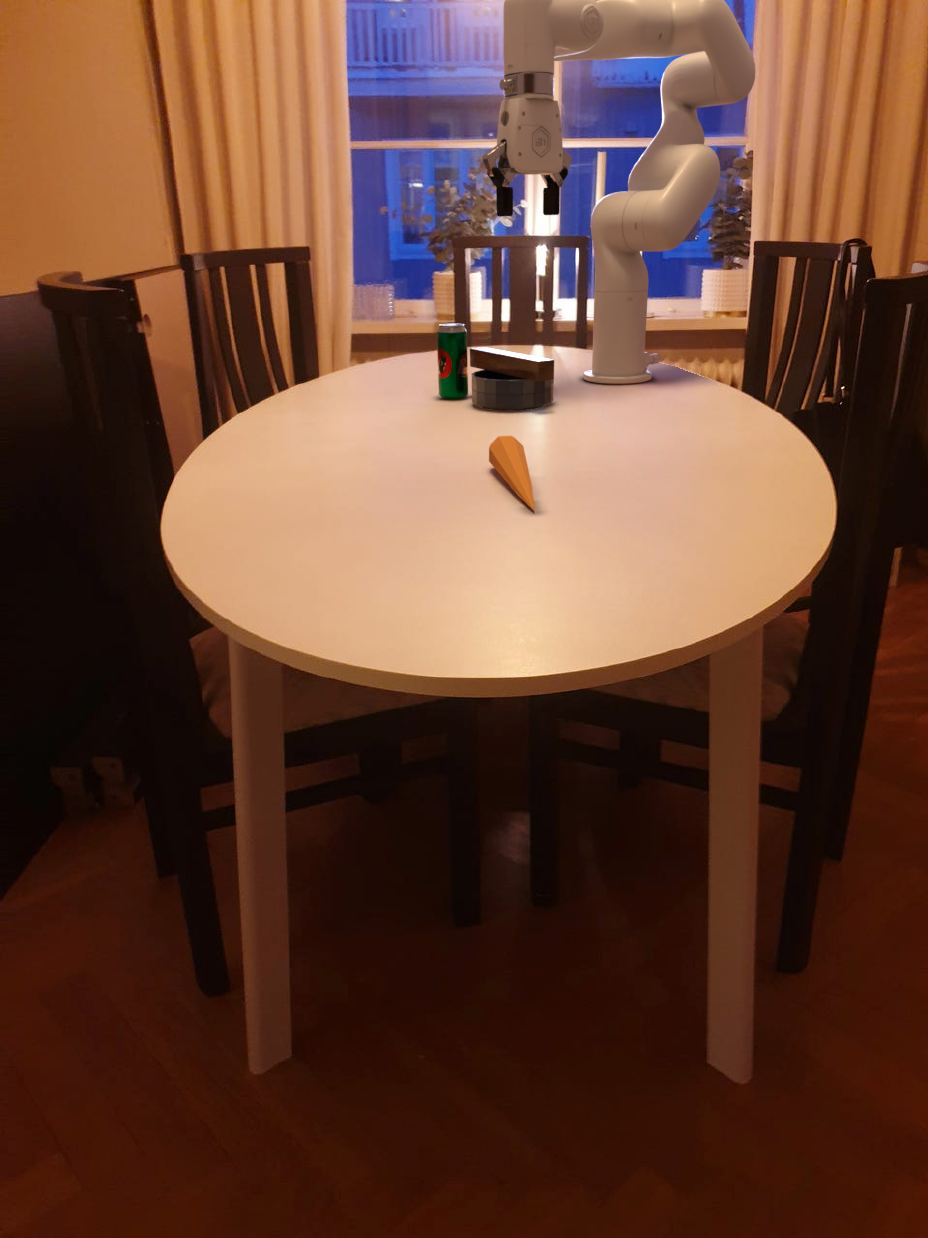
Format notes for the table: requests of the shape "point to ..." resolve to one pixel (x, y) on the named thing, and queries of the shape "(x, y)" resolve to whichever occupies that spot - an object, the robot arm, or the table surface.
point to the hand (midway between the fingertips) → (528, 215)
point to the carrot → (512, 466)
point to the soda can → (452, 361)
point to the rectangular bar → (512, 363)
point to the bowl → (509, 392)
